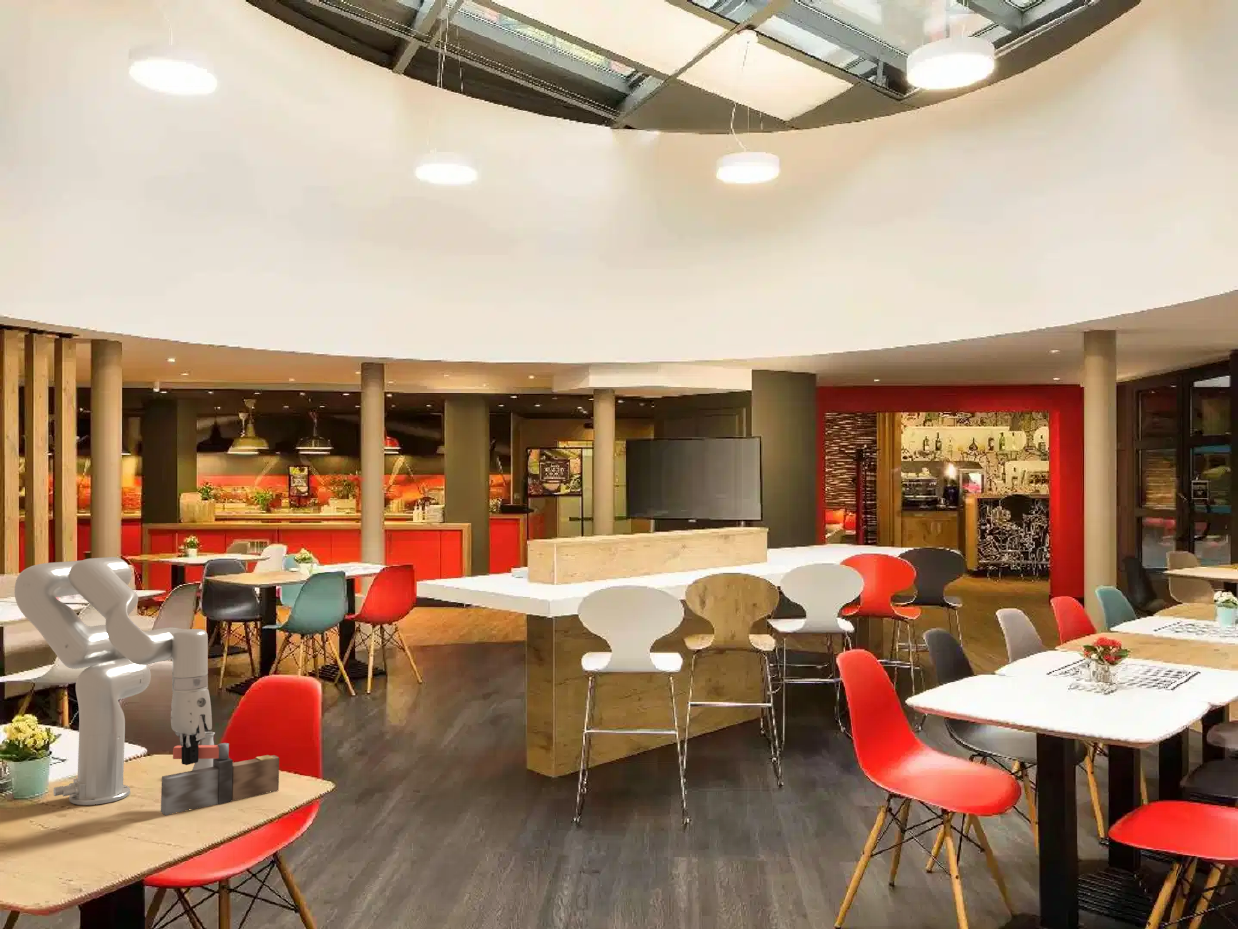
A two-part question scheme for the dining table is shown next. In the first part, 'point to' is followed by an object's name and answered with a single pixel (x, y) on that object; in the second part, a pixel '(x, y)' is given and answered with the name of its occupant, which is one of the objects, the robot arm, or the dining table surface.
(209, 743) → the flask
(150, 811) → the dining table surface
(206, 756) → the swing bar
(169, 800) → the two-tone wood plank
